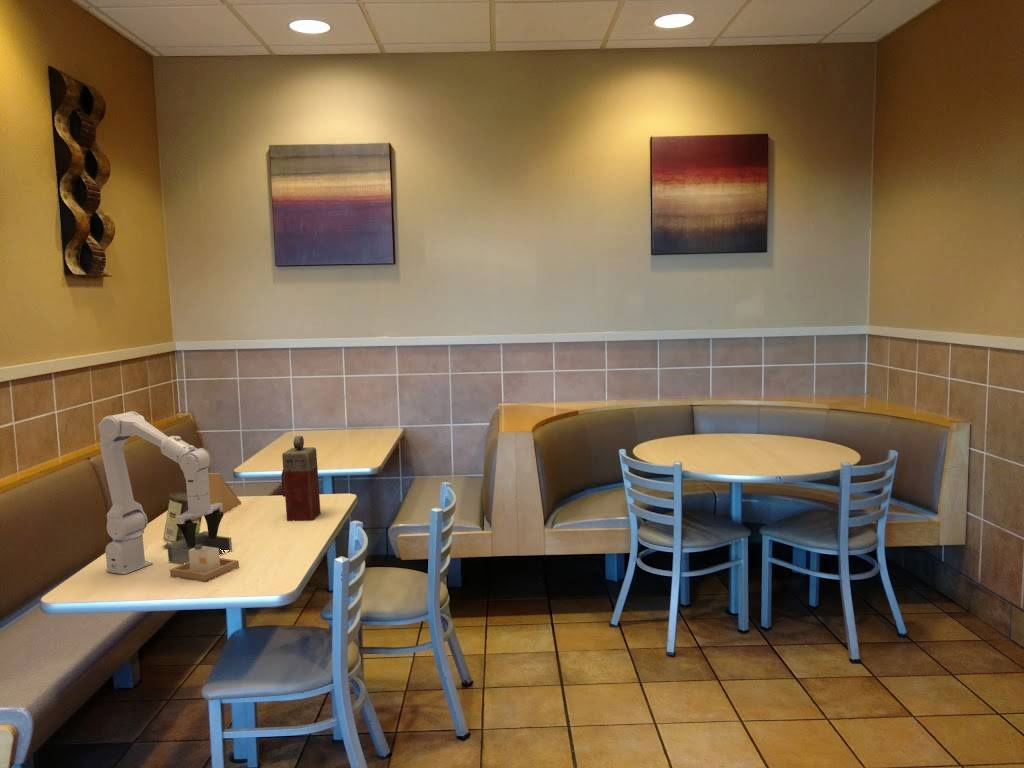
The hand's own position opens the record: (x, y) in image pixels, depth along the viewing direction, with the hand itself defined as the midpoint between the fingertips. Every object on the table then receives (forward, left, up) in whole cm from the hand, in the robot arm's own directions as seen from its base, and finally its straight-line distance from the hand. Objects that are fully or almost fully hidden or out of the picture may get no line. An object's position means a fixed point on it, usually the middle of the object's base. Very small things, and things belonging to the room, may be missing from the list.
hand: (202, 542), depth 218 cm
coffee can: (+17, +27, -7) cm, 33 cm away
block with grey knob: (0, 0, -8) cm, 8 cm away
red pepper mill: (+53, +11, -9) cm, 55 cm away
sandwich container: (+53, +47, -9) cm, 72 cm away
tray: (0, 0, -8) cm, 8 cm away
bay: (+10, +12, -8) cm, 18 cm away
